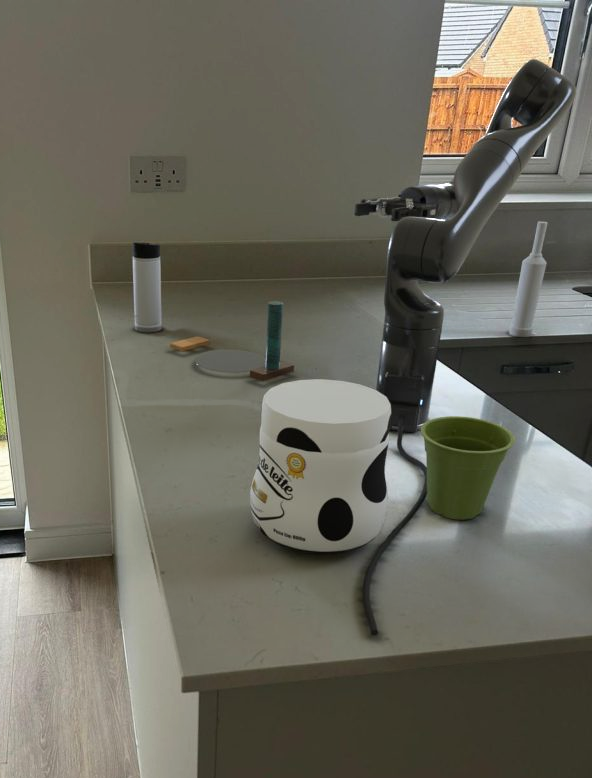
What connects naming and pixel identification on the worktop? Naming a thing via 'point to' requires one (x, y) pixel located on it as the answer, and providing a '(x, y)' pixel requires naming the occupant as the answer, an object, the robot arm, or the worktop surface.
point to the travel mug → (147, 287)
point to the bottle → (529, 287)
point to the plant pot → (462, 463)
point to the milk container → (321, 466)
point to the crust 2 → (199, 341)
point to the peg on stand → (273, 346)
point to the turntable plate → (230, 360)
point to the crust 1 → (182, 345)
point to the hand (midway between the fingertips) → (374, 212)
